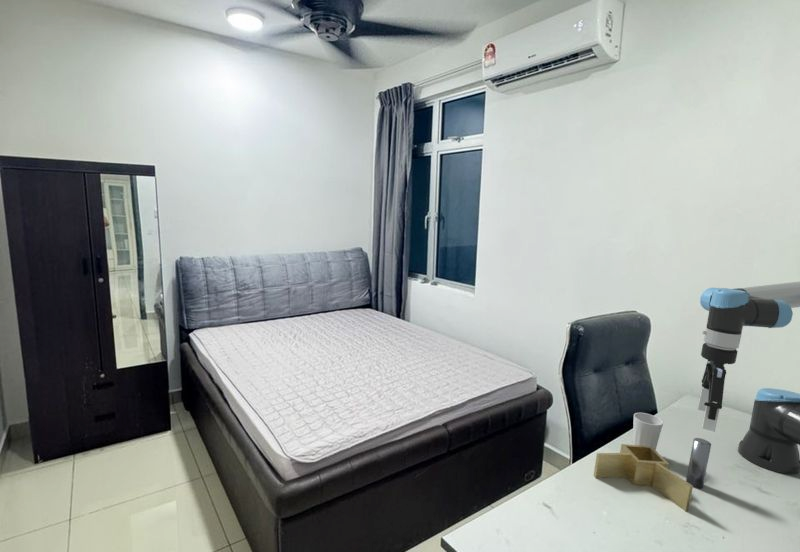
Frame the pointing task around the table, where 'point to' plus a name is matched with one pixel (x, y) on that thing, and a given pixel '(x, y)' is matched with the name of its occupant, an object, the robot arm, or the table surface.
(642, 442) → the cup
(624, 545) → the table surface
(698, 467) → the pin
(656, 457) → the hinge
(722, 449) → the table surface
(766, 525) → the table surface
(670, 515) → the table surface
